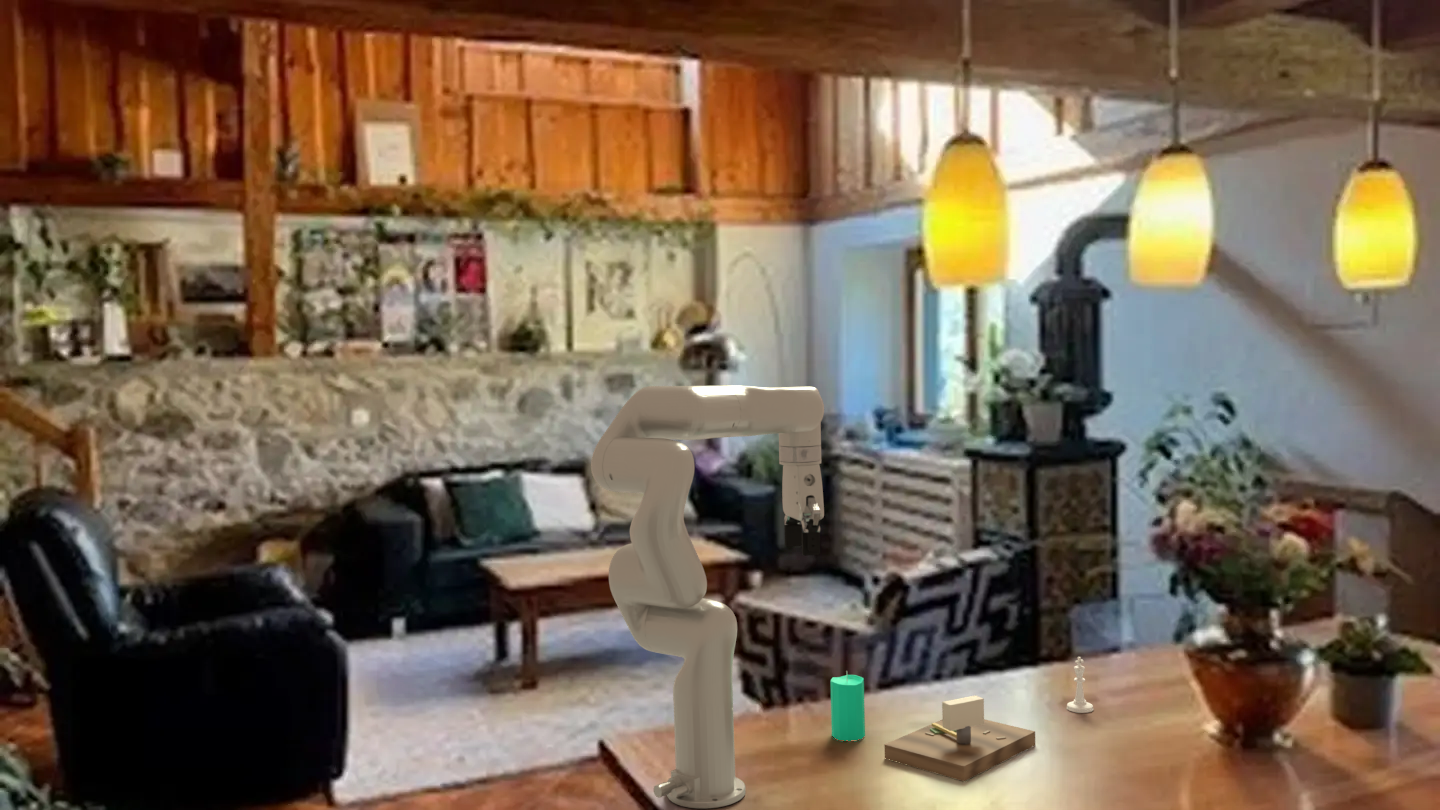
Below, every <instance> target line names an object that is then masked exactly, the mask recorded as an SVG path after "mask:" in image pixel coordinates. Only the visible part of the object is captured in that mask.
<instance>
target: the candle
mask: <svg viewBox="0 0 1440 810" xmlns="http://www.w3.org/2000/svg"><path fill="white" fill-rule="evenodd" d="M845 672H846V675H842V676H837V677H835V676H834V677H832V678H831V679H830V712H831V713H830V716H831V718H830V719H831V721H830V723H831V737H832V736H833V737H834V738H836V739H838V740H844V741H846V740H848V741H851V740H858V739H862V738H863V737H864V736H865V737H866V723H865V722H866V719H865V715H866V713H865V681H864V680H865V679H864V677H862V676H859V675H857V674H848V670H846V671H845ZM833 737H832V738H833ZM865 737H864V738H865ZM834 738H833V739H834ZM838 740H837V741H838ZM862 740H863V739H862Z"/></svg>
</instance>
